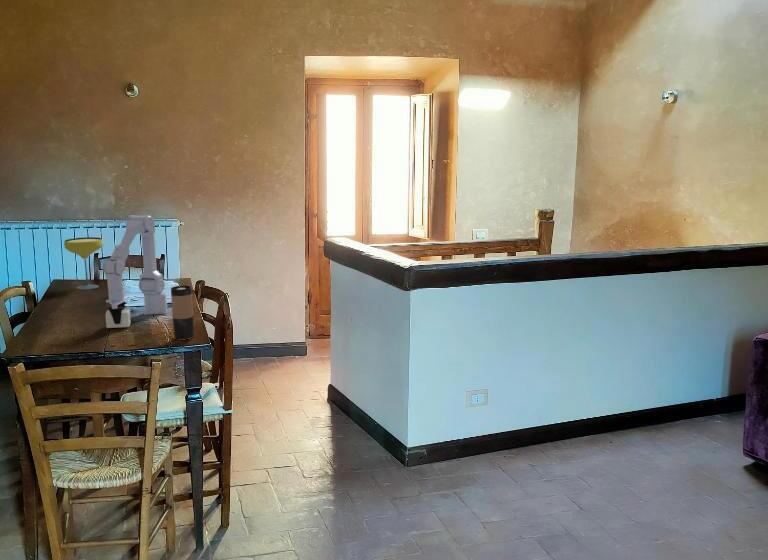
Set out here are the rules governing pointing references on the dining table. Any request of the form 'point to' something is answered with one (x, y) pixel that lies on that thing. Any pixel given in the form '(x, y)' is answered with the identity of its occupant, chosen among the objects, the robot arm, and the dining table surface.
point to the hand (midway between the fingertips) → (118, 321)
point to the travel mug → (182, 312)
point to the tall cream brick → (124, 319)
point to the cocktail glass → (84, 252)
